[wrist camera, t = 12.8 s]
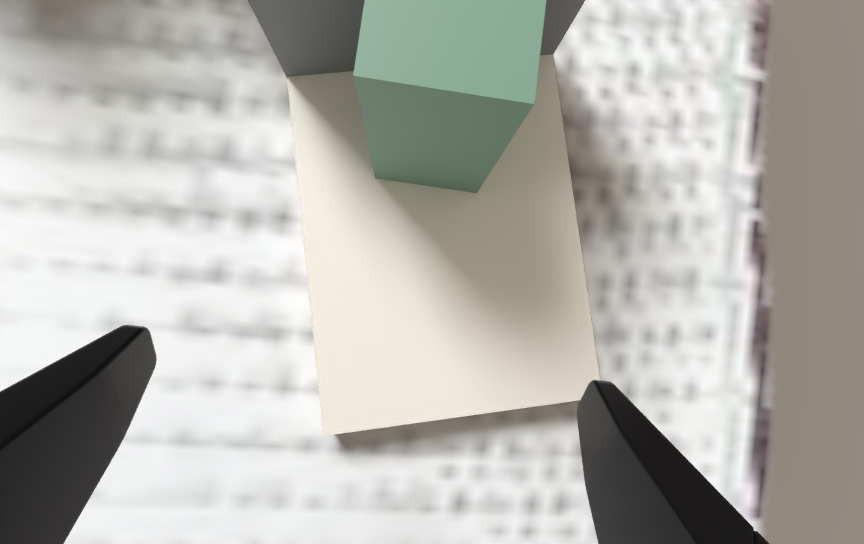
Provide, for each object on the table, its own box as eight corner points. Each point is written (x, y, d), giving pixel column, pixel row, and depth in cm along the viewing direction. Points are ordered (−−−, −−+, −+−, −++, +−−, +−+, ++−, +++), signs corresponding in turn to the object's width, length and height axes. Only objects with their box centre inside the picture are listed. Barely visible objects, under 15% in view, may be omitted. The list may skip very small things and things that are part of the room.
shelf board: (588, 391, 22) (762, 468, 11) (329, 426, 21) (254, 546, 10) (539, 41, 23) (654, -184, 12) (291, 61, 22) (190, -162, 12)
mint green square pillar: (476, 193, 20) (533, 103, 12) (375, 178, 20) (352, 75, 11) (487, 106, 21) (551, -46, 12) (387, 90, 21) (376, -77, 12)
